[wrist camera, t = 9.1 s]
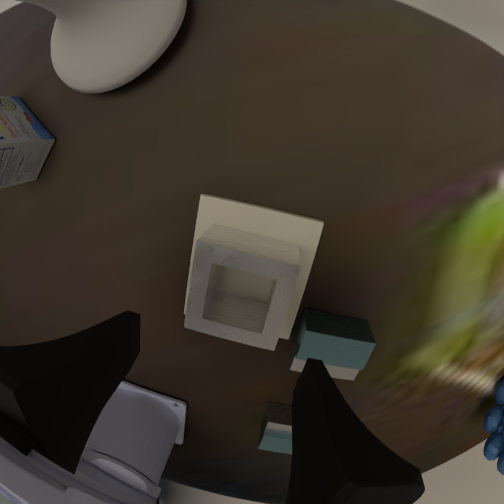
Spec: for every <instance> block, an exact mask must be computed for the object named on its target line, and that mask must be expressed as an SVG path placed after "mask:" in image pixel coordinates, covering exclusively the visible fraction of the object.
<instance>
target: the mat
mask: <svg viewBox="0 0 504 504" xmlns="http://www.w3.org/2000/svg"><path fill="white" fill-rule="evenodd" d="M214 223H216V224H220V225H224V226H228V227H232V228H236V229H241V230H245V231H249V232H253V233H257V234H261V235H265V236H269V237H273V238H277V239H281V240H285V241H289V242H293V243H297V244H299V249H300V260H301V269H300V272H299V275H298V279H297V282H296V285H295V288H294V292H293V295H292V298H291V301H290V304H289V308H288V311H287V314H286V317H285V320H284V323H283V326H282V329H281V332H280V335H279V338H283V339H289V336H290V333H291V330H292V327H293V324H294V321H295V318H296V315H297V312H298V309H299V306H300V303H301V299H302V296H303V293H304V290H305V287H306V283H307V280H308V277H309V273H310V270H311V267H312V263H313V260H314V256H315V253H316V250H317V246H318V243H319V239H320V235H321V232H322V228H323V225H324V222H323V221H321V220H317V219H313V218H309V217H305V216H301V215H297V214H293V213H289V212H284V211H280V210H276V209H272V208H267V207H263V206H259V205H254V204H250V203H245V202H241V201H236V200H232V199H227V198H222V197H218V196H213V195H208V194H201V197H200V203H199V209H198V215H197V221H196V228H195V234H194V241H193V248H192V255H191V262H190V269H189V277H188V284H187V292H186V301H185V309H184V314H186V308H187V300H188V293H189V286H190V279H191V272H192V265H193V259H194V252H195V246H196V241H197V240H198V239H199V238H200V237H201V236H202V235H203V234H204V233H205V232H206V231H207V230H208V229H209V228H210V227H211V226H212V225H213V224H214ZM273 279H274V278H270V277H266V276H262V275H258V274H254V273H250V272H246V271H242V270H238V269H234V268H230V267H226V266H221V271H220V276H219V281H218V286H217V289H218V290H221V291H225V292H229V293H233V294H237V295H241V296H245V297H249V298H253V299H257V300H261V301H265V302H267V301H268V297H269V294H270V290H271V286H272V283H273Z"/></svg>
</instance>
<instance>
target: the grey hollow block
mask: <svg viewBox="0 0 504 504" xmlns="http://www.w3.org/2000/svg"><path fill="white" fill-rule="evenodd" d="M221 266H226V267H230V268H234V269H238V270H242V271H246V272H250V273H254V274H258V275H262V276H266V277H270V278H274V279H273V283H272V286H271V290H270V294H269V297H268V301H267V302H265V301H261V300H257V299H253V298H249V297H245V296H241V295H237V294H233V293H229V292H225V291H221V290H218V289H217V286H218V281H219V276H220V271H221ZM300 269H301V260H300V249H299V244H297V243H293V242H289V241H285V240H281V239H277V238H273V237H269V236H265V235H261V234H257V233H253V232H249V231H245V230H241V229H236V228H232V227H228V226H224V225H220V224H216V223H214V224H213V225H212V226H211V227H210V228H209V229H208V230H207V231H206V232H205V233H204V234H203V235H202V236H201V237H200V238H199V239H198V240H197V241H196V246H195V252H194V259H193V265H192V272H191V279H190V286H189V293H188V300H187V308H186V315H185V323H184V327H185V328H188V329H191V330H195V331H198V332H202V333H205V334H209V335H213V336H216V337H220V338H224V339H227V340H231V341H235V342H239V343H243V344H247V345H251V346H255V347H259V348H264V349H268V350H272V351H274V350H275V347H276V344H277V341H278V338H279V335H280V332H281V329H282V326H283V323H284V320H285V317H286V314H287V311H288V308H289V304H290V301H291V298H292V295H293V292H294V288H295V285H296V282H297V279H298V275H299V272H300Z"/></svg>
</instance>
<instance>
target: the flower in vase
mask: <svg viewBox="0 0 504 504" xmlns="http://www.w3.org/2000/svg"><path fill="white" fill-rule="evenodd" d="M17 1H23V2H28V3H32V4H35V5H38V6H41V7H43V8H45V9H47V10H49V11H51V12H52V13H54V14H55V15H56V17H57V19H56V21H55V25H54V28H53V32H52V37H51V58H52V63H53V67H54V69H55V71H56V73H57V75H58V76H59V77H60V79H61V80H62V81H63V82H64V83H65V84H66V85H68V86H69V87H70V88H72V89H74V90H76V91H79V92H82V93H102V92H106V91H110V90H113V89H116V88H118V87H120V86H123V85H124V84H126V83H128V82H130V81H132V80H133V79H135V78H136V77H138V76H139V75H141V74H142V73H143V72H144V71H145V70H147V69H148V68H149V67H150V66H151V65H152V64H153V63H154V62H155V61H156V60H158V58H159V57H160V56H161V55H162V54H163V53H164V52H165V50H166V49H167V48H168V46H169V45H170V44H171V42H172V41H173V39H174V37H175V36H176V34H177V32H178V30H179V28H180V26H181V24H182V21H183V18H184V15H185V11H186V6H187V0H17Z"/></svg>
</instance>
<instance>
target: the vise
mask: <svg viewBox="0 0 504 504" xmlns="http://www.w3.org/2000/svg"><path fill="white" fill-rule="evenodd" d="M375 345H376V342H375V339H374V337H373V334H372V332H371V329H370V326H369V324H368V321H365V320H360V319H355V318H350V317H345V316H341V315H336V314H331V313H326V312H322V311H317V310H312V309H308V308H304V311H303V314H302V317H301V320H300V323H299V326H298V329H297V332H296V335H295V337H294V340H293V343H292V346H291V349H290V370H293V371H298V372H302V370H303V368H304V365H305V363H306V361H307V358H313V359H319V360H322V361H323V363H324V365H325V367H326V368H327V370H328V372H329V374H330V376H331V377H333V378H339V379H346V380H353V381H354V379H355V377H356V375H357V373H358V372H359V370H363V369H364V367H365V365H366V363H367V361H368V359H369V357H370V355H371V353H372V351H373V349H374V347H375ZM298 380H299V379H298ZM298 380H297V382H298ZM296 385H297V384H296ZM291 411H292V406H291V405H285V404H279V403H274V402H270V405H269V407H268V410H267V412H266V415H265V417H264V420H263V422H262V425H261V430H260V437H259V444H258V449H261V450H267V451H273V452H279V453H286V454H292V417H291Z"/></svg>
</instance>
